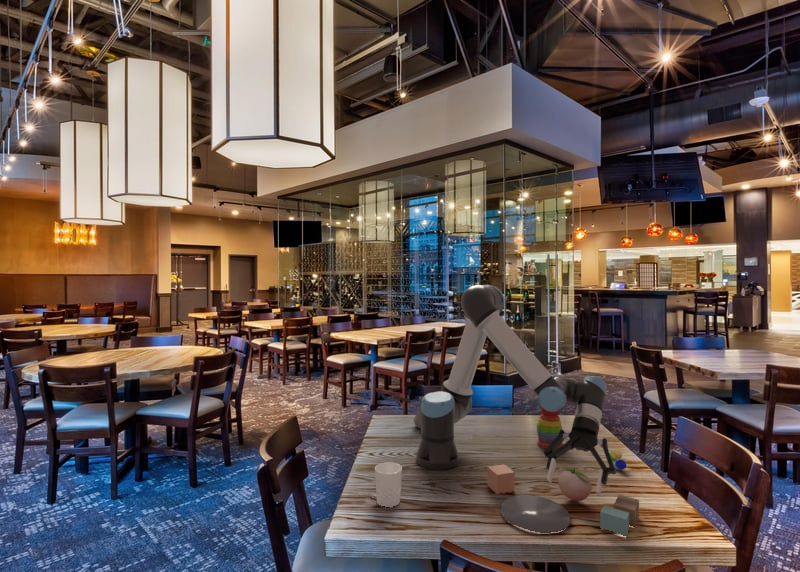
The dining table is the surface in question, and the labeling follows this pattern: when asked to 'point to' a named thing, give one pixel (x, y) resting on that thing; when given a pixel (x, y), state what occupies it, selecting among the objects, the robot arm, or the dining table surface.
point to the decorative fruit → (574, 484)
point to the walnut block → (628, 507)
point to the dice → (616, 455)
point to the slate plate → (535, 513)
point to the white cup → (388, 483)
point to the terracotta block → (500, 479)
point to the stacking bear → (548, 428)
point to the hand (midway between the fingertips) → (572, 487)
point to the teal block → (614, 520)
